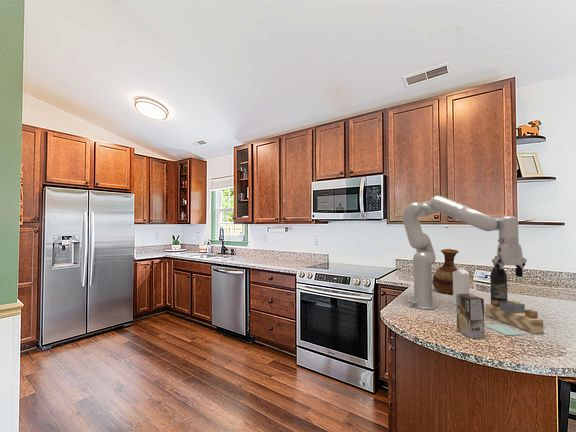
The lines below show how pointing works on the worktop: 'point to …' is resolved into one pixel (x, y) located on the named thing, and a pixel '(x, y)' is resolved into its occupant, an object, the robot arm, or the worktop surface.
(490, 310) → the body
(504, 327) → the mat
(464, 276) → the milk
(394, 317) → the worktop surface
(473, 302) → the coffee box
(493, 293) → the wine bottle
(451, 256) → the brown ceramic vase
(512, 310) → the lever cap
